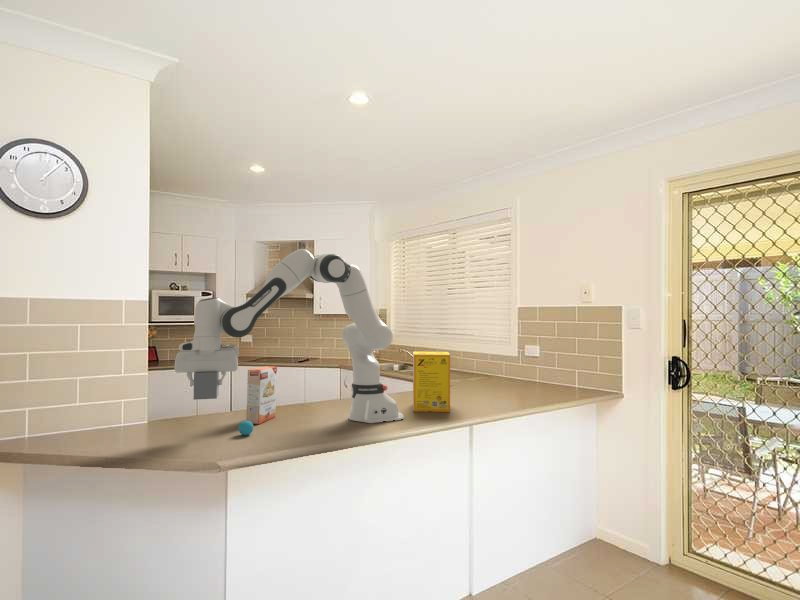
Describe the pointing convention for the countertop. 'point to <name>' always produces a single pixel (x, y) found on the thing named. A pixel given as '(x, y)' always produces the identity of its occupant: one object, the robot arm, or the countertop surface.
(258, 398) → the cracker box
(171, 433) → the countertop surface
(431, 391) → the packaging box
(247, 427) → the ball
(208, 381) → the gray faceted wedge
